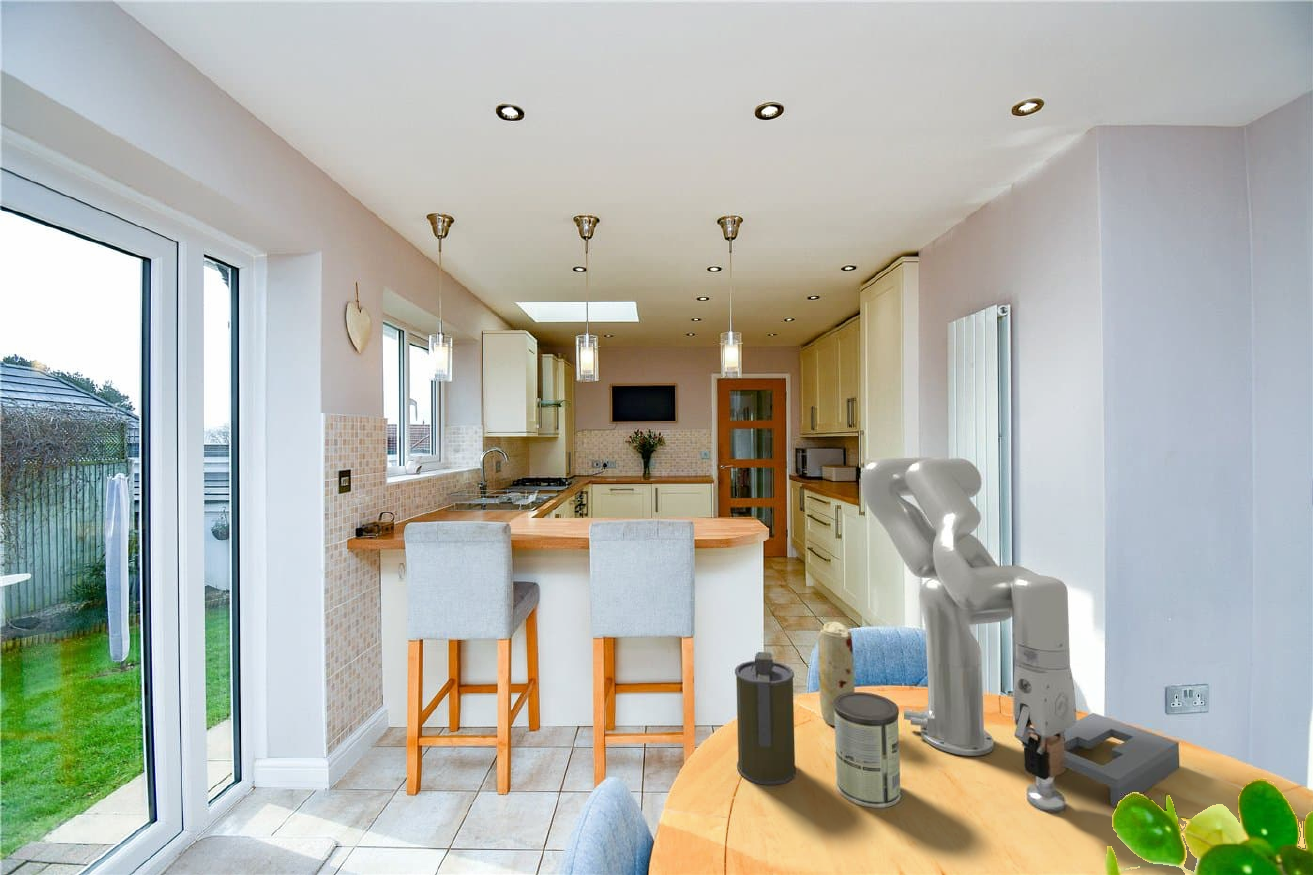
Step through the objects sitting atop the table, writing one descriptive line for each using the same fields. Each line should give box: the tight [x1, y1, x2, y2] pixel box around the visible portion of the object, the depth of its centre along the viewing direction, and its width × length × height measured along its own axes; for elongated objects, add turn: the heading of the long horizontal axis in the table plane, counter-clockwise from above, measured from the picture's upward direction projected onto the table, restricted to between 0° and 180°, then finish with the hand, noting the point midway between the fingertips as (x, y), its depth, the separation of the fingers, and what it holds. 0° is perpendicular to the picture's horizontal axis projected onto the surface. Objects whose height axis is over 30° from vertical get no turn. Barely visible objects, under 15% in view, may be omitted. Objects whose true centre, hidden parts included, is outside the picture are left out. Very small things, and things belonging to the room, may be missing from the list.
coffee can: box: [833, 691, 902, 809], centre depth 97 cm, size 10×10×14 cm
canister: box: [734, 651, 797, 786], centre depth 103 cm, size 11×10×20 cm
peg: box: [1023, 733, 1066, 814], centre depth 92 cm, size 5×5×10 cm
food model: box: [817, 621, 855, 727], centre depth 121 cm, size 10×7×20 cm
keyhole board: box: [1064, 712, 1180, 808], centre depth 101 cm, size 22×13×4 cm, turn 119°
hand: (1044, 769), depth 92 cm, fingers closed on peg, 4 cm apart
